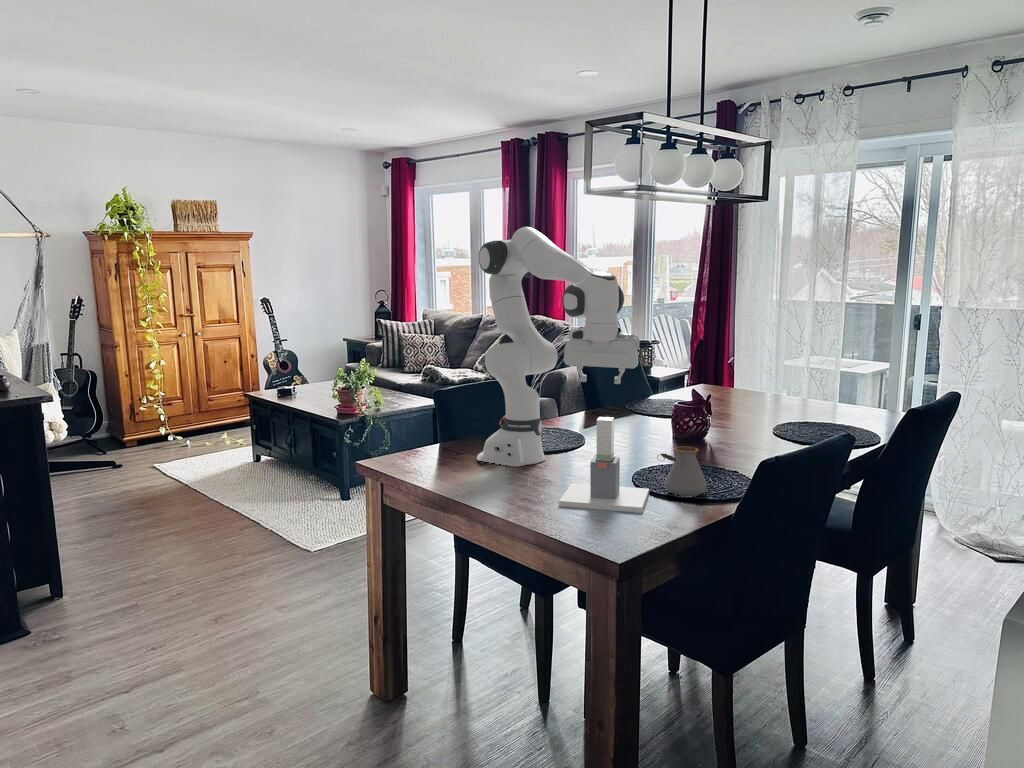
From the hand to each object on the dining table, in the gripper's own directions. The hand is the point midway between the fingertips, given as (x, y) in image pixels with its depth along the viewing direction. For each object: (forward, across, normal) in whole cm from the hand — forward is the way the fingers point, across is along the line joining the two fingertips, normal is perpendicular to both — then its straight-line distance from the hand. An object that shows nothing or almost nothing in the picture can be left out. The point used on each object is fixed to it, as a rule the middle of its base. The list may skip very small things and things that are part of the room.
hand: (600, 382), depth 202 cm
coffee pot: (+31, -22, +1) cm, 38 cm away
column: (+25, -3, +7) cm, 26 cm away
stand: (+31, -3, +7) cm, 32 cm away
